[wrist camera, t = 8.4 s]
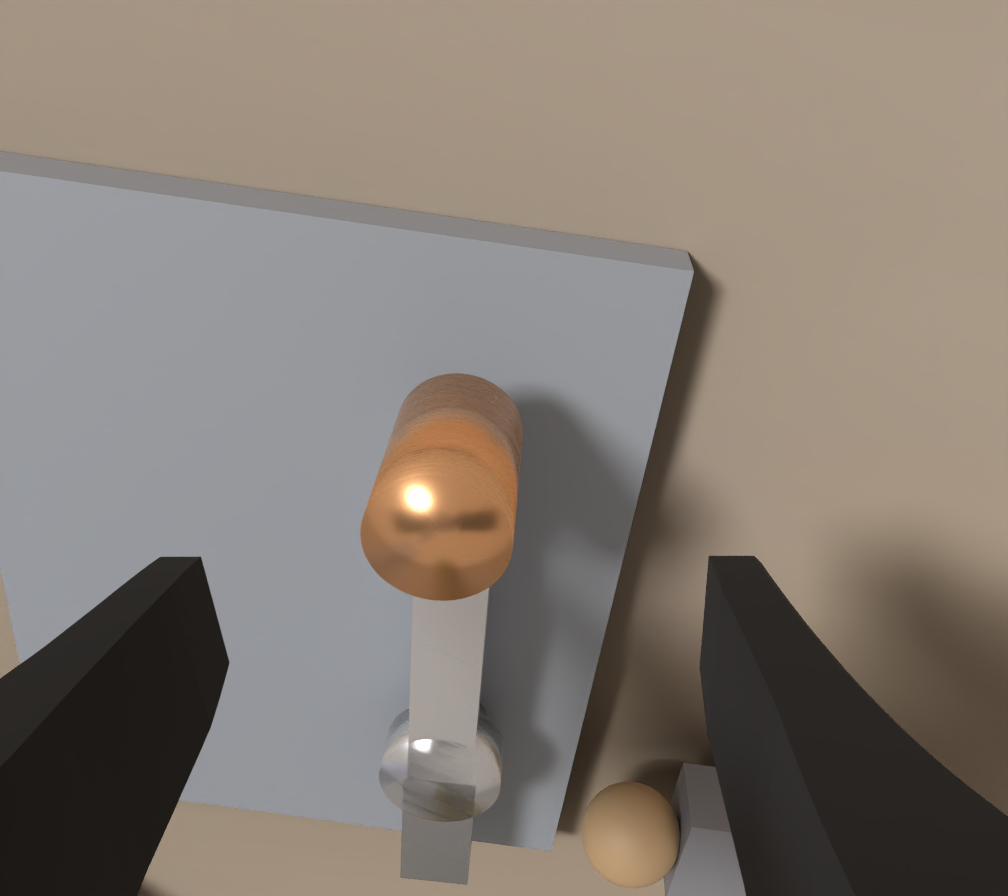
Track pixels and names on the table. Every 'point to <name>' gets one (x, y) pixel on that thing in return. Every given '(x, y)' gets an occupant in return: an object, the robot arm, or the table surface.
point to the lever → (445, 605)
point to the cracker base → (334, 472)
